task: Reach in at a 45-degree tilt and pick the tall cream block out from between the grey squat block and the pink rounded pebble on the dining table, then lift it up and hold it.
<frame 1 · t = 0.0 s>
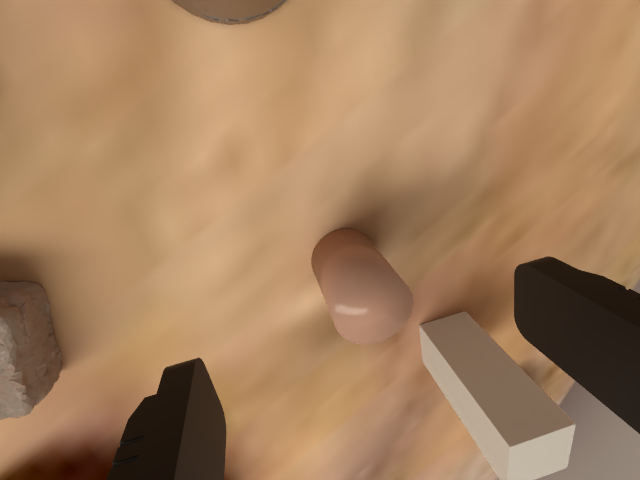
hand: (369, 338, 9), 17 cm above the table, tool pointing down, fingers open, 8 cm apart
tall cream block: (443, 336, 34), on the table
pink rounded pebble: (343, 258, 28), on the table
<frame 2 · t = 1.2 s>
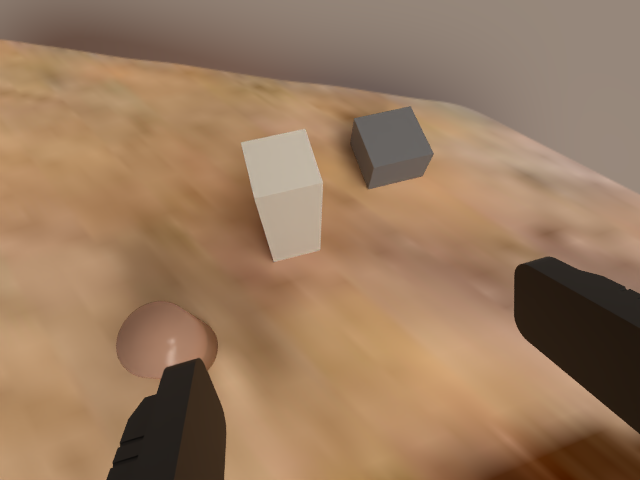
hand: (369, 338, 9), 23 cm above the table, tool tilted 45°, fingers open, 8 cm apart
grey squat block: (385, 160, 39), on the table
tall cream block: (291, 235, 35), on the table
pink rounded pebble: (188, 349, 31), on the table
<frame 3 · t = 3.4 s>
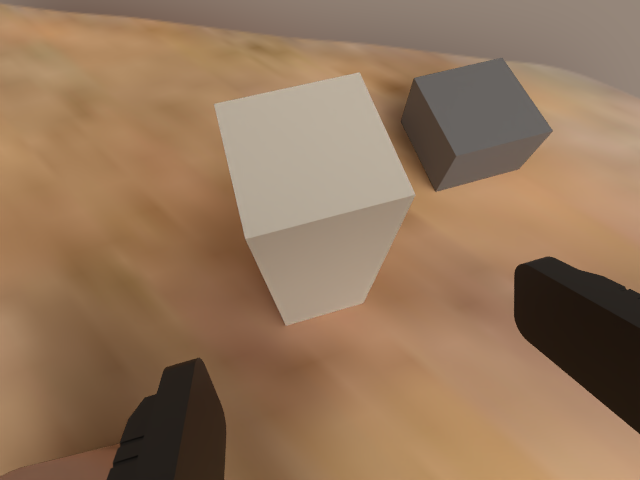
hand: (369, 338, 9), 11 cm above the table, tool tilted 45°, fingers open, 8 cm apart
grey squat block: (456, 146, 25), on the table
tall cream block: (314, 277, 21), on the table
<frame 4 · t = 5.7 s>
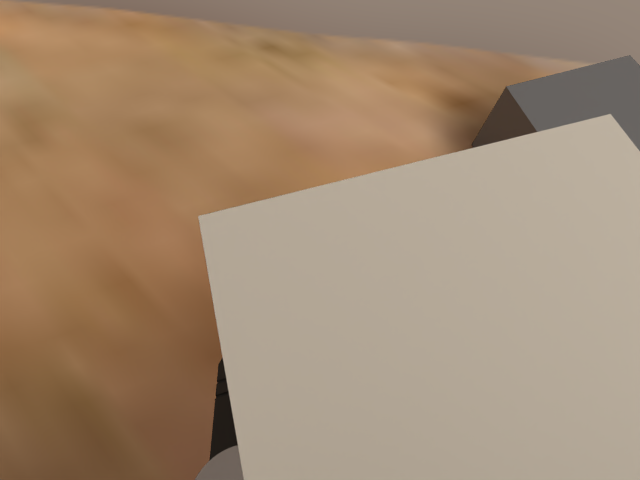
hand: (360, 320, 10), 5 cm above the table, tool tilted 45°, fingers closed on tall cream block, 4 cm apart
grey squat block: (552, 179, 18), on the table
tall cream block: (362, 395, 14), on the table, touching gripper
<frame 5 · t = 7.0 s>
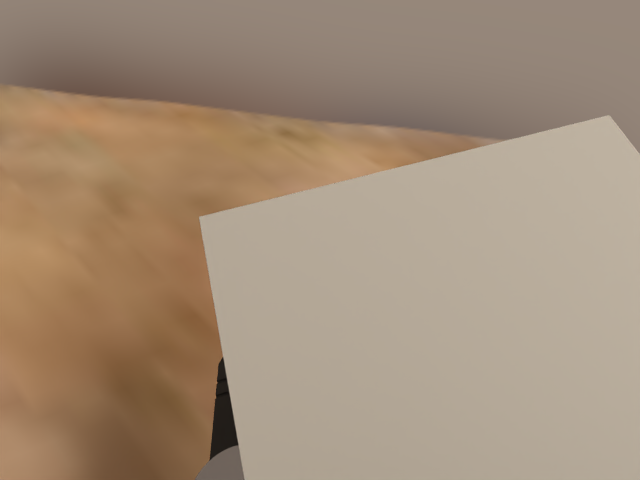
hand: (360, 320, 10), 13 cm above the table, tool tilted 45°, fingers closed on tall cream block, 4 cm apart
tall cream block: (362, 395, 14), point 8 cm above the table, touching gripper
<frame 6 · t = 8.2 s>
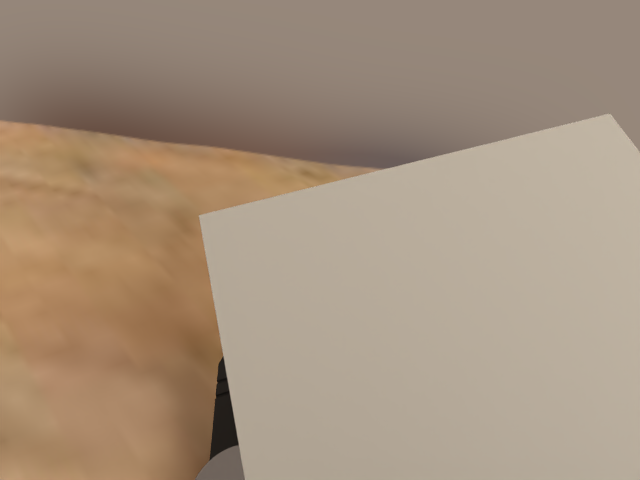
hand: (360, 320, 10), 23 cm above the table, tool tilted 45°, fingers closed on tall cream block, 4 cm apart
tall cream block: (362, 394, 14), point 18 cm above the table, touching gripper
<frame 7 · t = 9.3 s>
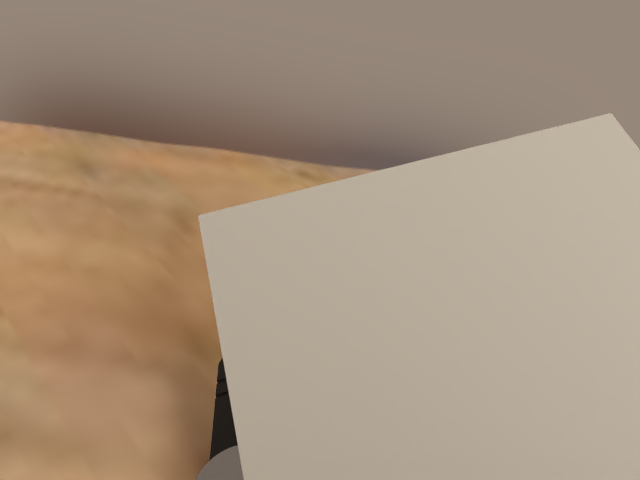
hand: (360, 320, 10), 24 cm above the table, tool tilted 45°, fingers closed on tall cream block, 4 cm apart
tall cream block: (362, 394, 14), point 19 cm above the table, touching gripper
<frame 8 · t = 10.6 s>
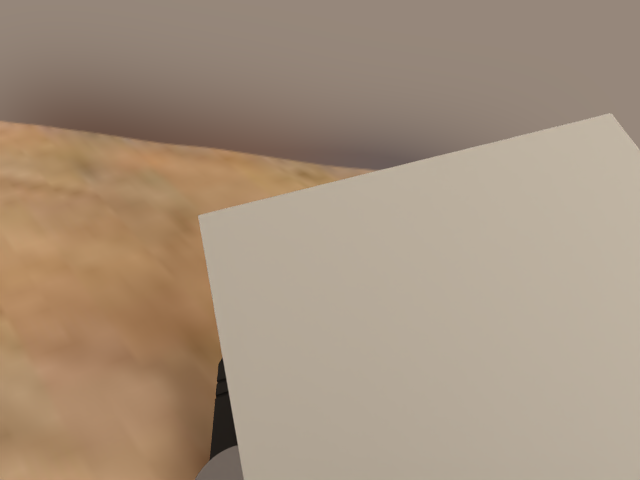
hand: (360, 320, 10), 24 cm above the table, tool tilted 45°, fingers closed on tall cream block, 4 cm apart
tall cream block: (362, 394, 14), point 19 cm above the table, touching gripper
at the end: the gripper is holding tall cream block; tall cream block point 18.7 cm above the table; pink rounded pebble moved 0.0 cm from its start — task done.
